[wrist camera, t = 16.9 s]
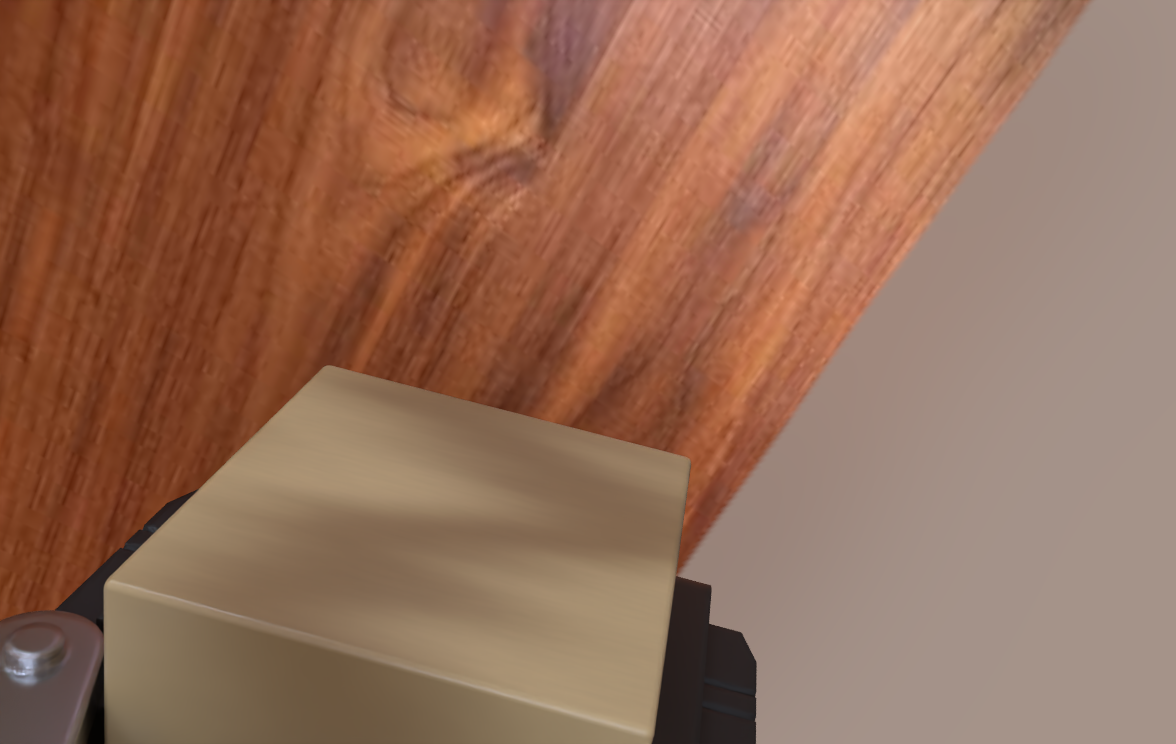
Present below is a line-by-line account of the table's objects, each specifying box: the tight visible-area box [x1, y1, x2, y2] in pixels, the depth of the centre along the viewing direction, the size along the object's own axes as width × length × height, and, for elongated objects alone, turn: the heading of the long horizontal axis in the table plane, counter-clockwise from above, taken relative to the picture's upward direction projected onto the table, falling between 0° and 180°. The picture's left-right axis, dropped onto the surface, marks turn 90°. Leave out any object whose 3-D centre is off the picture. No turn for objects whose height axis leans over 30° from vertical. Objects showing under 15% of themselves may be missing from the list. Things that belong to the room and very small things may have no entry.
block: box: [104, 366, 691, 744], centre depth 12 cm, size 5×5×5 cm
